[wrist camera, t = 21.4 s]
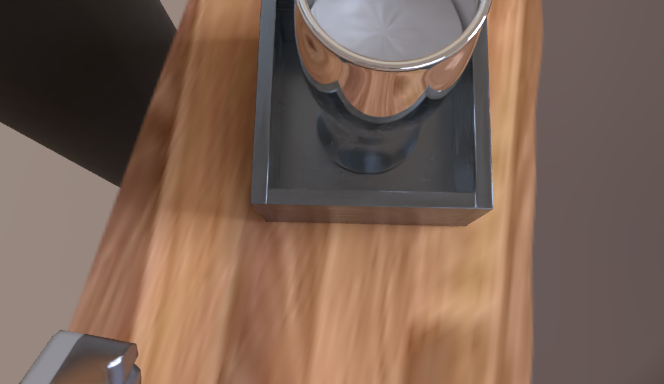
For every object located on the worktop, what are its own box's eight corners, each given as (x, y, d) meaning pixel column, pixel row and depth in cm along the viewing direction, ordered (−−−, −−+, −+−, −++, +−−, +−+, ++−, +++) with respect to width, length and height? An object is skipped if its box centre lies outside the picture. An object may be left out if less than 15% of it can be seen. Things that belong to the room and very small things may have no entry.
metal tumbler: (448, 102, 33) (538, -62, 18) (391, 203, 32) (439, 115, 17) (345, 48, 34) (352, -151, 19) (286, 144, 33) (245, 12, 18)
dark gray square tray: (265, 221, 33) (249, 203, 27) (274, 36, 35) (261, -16, 29) (466, 226, 32) (493, 209, 27) (461, 40, 35) (485, -13, 29)
